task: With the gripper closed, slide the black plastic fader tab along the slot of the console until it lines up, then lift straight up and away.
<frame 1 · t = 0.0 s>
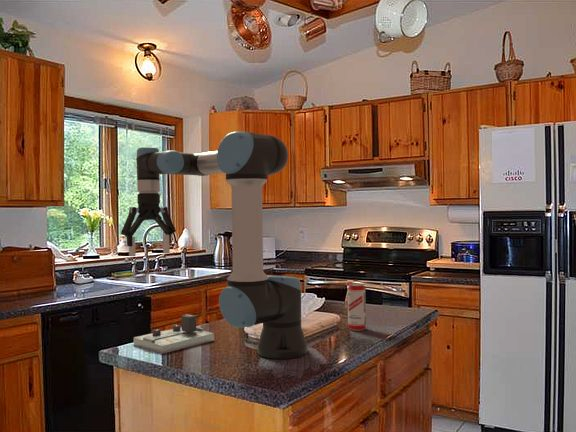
hand: (149, 254, 180), 28 cm above the counter, fingers open, 13 cm apart
console: (174, 342, 171), on the counter
hamburger: (278, 327, 192), on the counter
beer can: (357, 330, 185), on the counter
fader tab: (188, 322, 175), point 5 cm above the counter, slide at -6.0 cm
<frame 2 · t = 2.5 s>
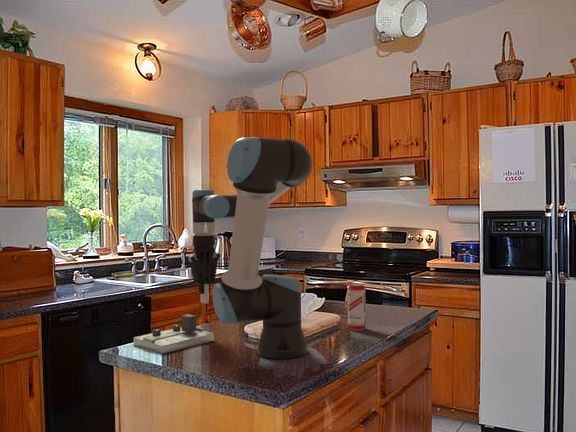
hand: (204, 302, 181), 11 cm above the counter, fingers closed
nothing on the counter moved.
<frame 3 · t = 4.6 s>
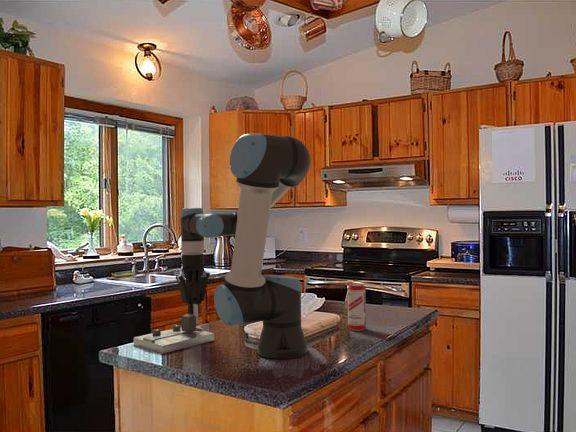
hand: (194, 323, 177), 5 cm above the counter, fingers closed
fader tab: (188, 323, 175), point 5 cm above the counter, slide at -5.9 cm, touching gripper
everything else where it was.
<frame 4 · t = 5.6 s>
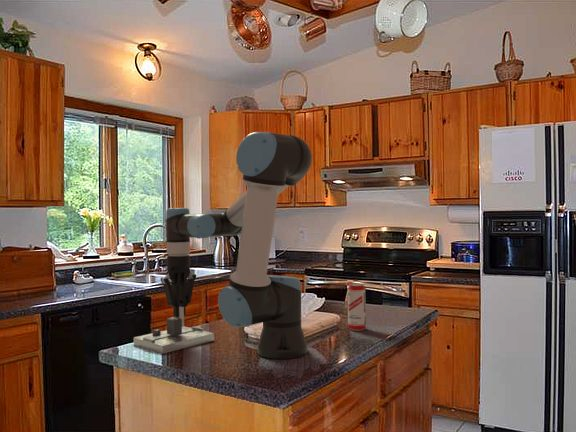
hand: (179, 326, 172), 5 cm above the counter, fingers closed
fader tab: (174, 326, 171), point 5 cm above the counter, slide at -0.1 cm, touching gripper
everything else where it was.
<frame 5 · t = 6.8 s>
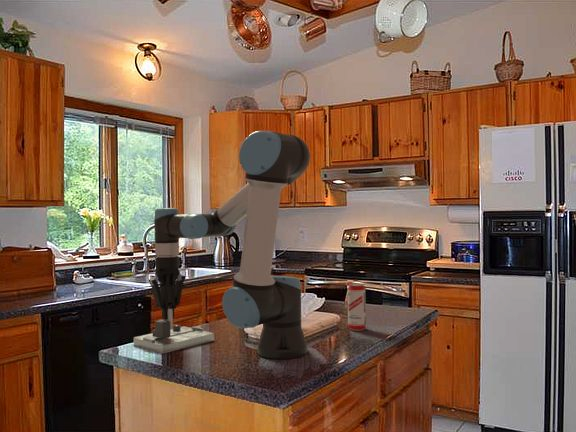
hand: (168, 328, 169), 5 cm above the counter, fingers closed
fader tab: (162, 328, 167), point 5 cm above the counter, slide at 4.4 cm, touching gripper
everything else where it was.
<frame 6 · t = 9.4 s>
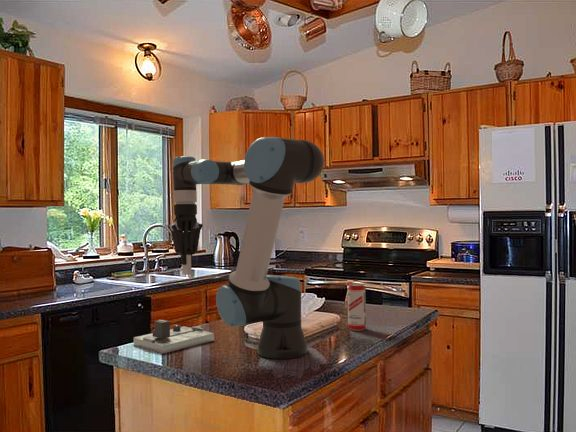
hand: (187, 274, 174), 22 cm above the counter, fingers closed
fader tab: (162, 328, 167), point 5 cm above the counter, slide at 4.5 cm
everything else where it was.
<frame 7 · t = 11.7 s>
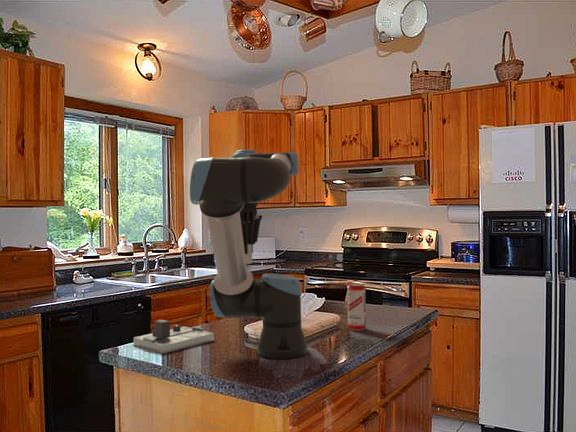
hand: (247, 263, 182), 24 cm above the counter, fingers closed
nothing on the counter moved.
at the end: fader tab slide at 4.5 cm; the gripper is holding nothing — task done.
